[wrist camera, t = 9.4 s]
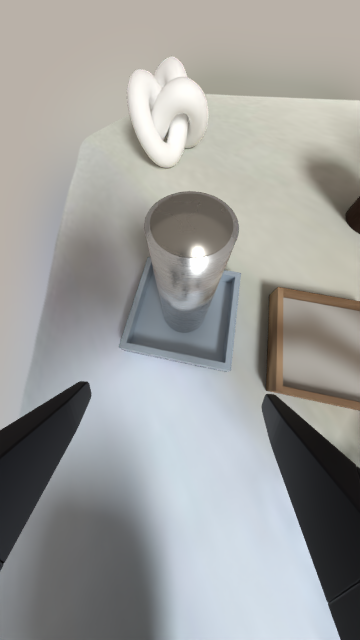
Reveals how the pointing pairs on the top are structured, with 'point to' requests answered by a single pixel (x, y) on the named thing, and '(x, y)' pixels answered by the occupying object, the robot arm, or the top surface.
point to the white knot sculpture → (166, 111)
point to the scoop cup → (189, 253)
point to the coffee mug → (354, 216)
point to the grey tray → (192, 347)
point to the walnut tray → (314, 347)
